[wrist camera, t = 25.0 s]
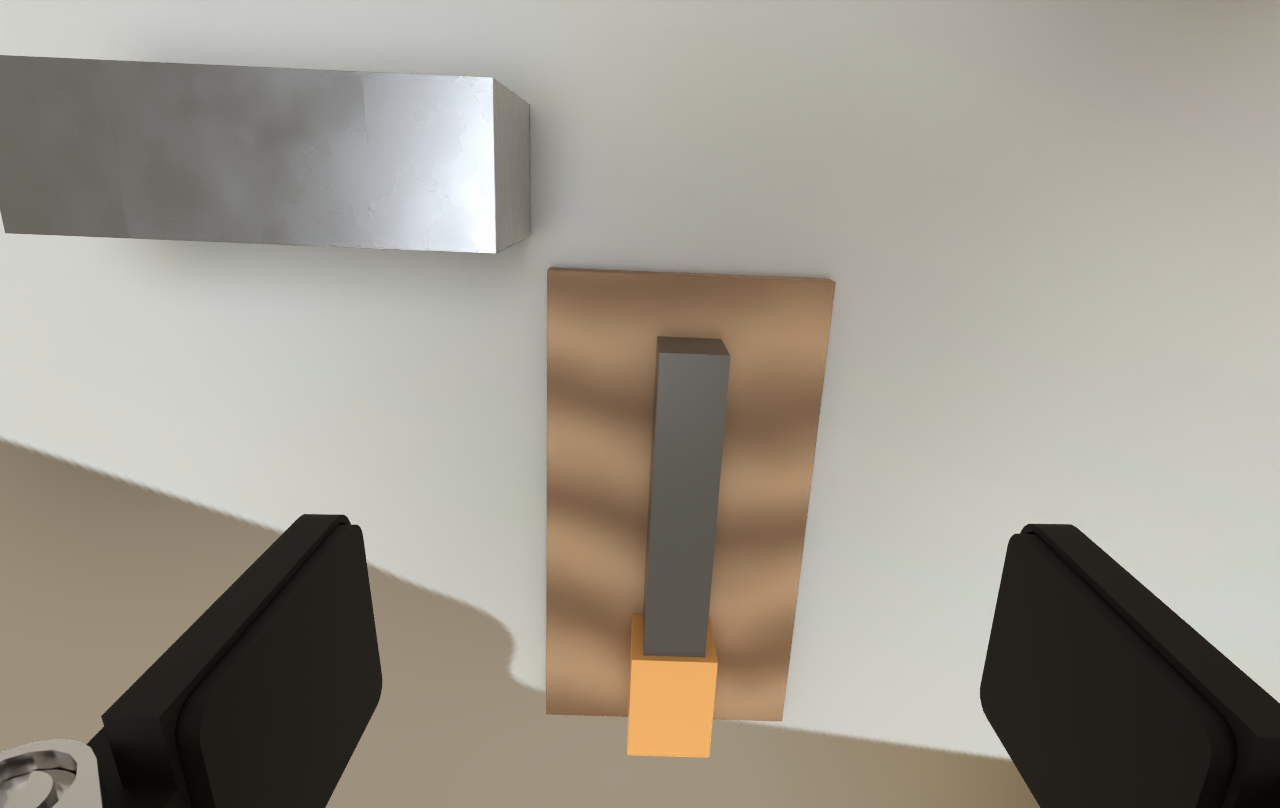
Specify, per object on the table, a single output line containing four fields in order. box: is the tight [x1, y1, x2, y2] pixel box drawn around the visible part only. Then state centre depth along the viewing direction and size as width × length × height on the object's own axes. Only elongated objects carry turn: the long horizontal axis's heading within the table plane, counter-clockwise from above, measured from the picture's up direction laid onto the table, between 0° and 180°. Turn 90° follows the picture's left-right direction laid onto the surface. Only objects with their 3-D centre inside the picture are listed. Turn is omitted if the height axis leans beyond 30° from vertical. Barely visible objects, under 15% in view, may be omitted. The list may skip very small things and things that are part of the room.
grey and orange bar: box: [627, 336, 730, 758], centre depth 37 cm, size 23×4×4 cm, turn 178°
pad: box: [546, 268, 836, 721], centre depth 39 cm, size 26×14×1 cm, turn 178°
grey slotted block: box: [0, 55, 530, 253], centre depth 30 cm, size 6×18×9 cm, turn 88°
